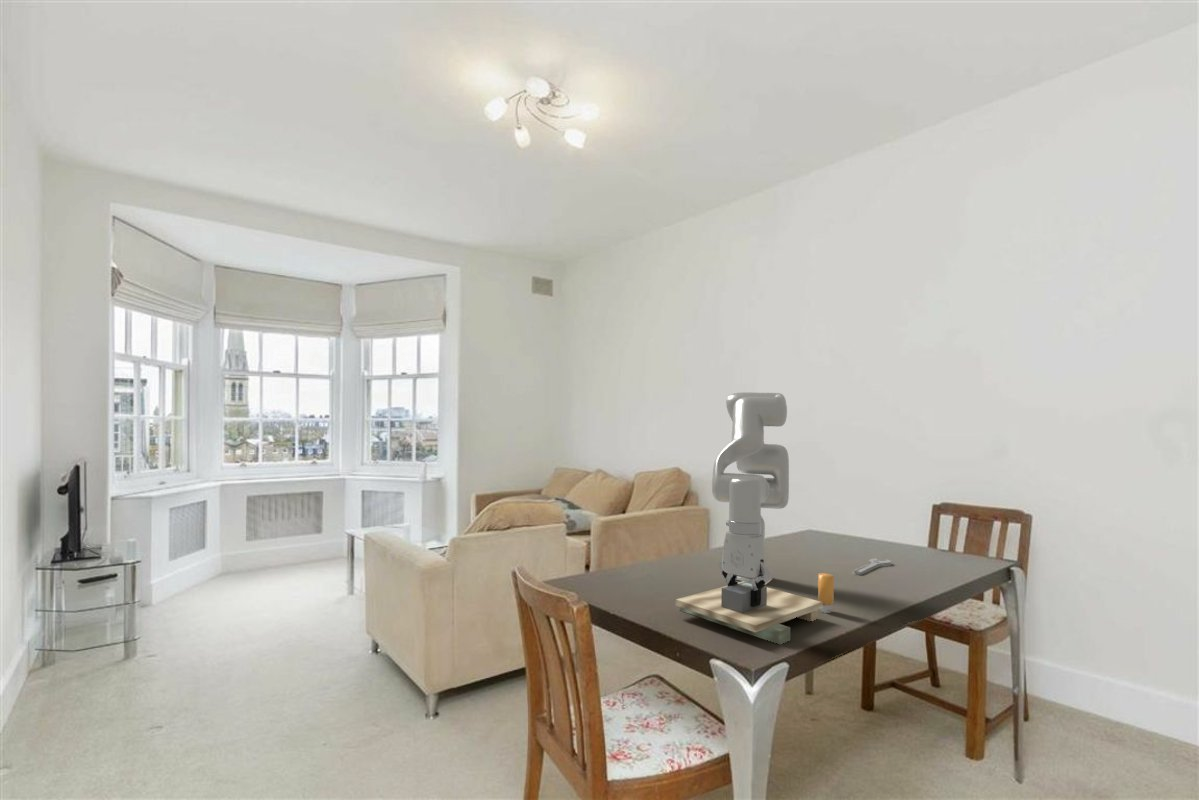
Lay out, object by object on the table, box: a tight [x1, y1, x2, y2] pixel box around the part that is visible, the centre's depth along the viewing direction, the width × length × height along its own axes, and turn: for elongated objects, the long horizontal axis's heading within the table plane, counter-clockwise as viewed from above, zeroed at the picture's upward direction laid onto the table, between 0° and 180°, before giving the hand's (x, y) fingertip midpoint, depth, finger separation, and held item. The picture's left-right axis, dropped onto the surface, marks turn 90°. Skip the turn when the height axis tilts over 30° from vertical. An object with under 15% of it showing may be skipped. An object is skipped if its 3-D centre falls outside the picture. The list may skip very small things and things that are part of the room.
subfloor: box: [675, 581, 822, 646], centre depth 152 cm, size 30×28×4 cm
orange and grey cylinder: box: [817, 572, 835, 614], centre depth 159 cm, size 4×4×10 cm
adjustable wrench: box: [852, 558, 892, 576], centre depth 206 cm, size 25×6×2 cm, turn 131°
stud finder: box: [721, 581, 768, 613], centre depth 148 cm, size 6×10×5 cm, turn 130°
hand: (744, 601), depth 148 cm, fingers closed on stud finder, 6 cm apart
